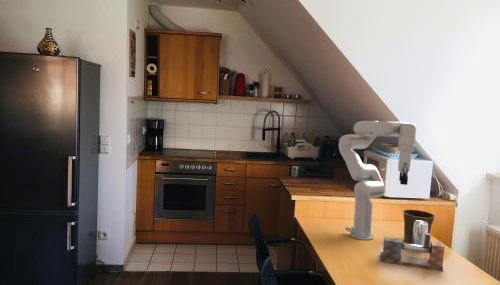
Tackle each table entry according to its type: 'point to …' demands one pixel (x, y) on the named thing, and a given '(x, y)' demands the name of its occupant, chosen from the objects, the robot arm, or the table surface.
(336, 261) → the table surface
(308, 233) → the table surface
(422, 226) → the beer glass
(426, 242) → the tube
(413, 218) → the plant pot
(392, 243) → the tube rig
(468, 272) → the table surface
